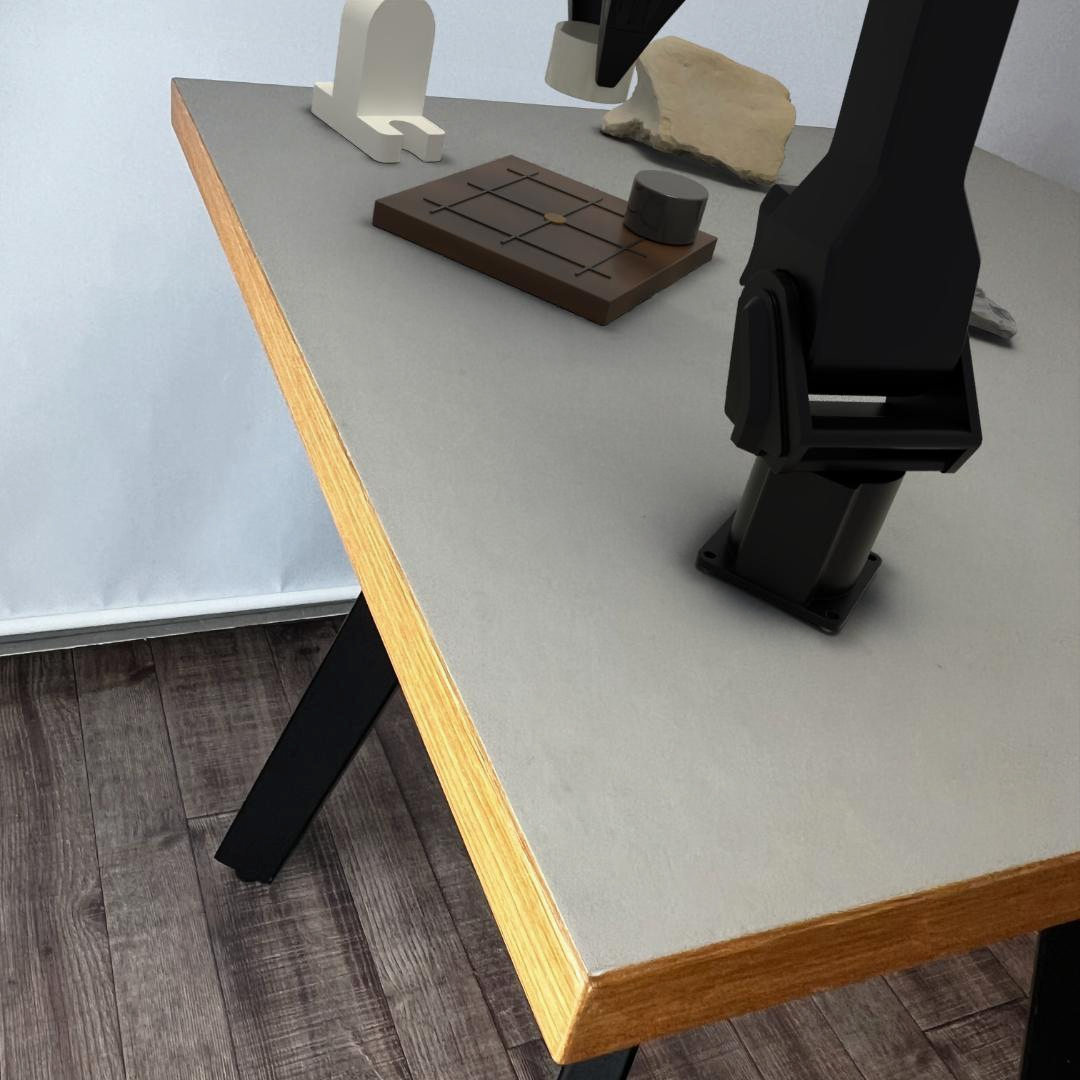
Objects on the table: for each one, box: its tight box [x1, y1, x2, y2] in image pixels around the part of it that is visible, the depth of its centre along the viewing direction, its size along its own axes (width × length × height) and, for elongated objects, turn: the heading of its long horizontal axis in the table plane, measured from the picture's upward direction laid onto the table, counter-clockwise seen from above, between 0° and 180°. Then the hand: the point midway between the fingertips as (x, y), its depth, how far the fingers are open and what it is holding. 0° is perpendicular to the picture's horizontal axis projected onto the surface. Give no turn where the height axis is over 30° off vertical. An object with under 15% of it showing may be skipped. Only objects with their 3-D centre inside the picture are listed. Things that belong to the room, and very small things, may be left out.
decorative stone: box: [600, 35, 797, 186], centre depth 97 cm, size 8×14×8 cm, turn 80°
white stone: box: [543, 20, 637, 105], centre depth 69 cm, size 5×5×3 cm
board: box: [371, 154, 719, 326], centre depth 77 cm, size 16×16×2 cm
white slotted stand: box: [310, 0, 446, 164], centre depth 84 cm, size 5×10×10 cm, turn 37°
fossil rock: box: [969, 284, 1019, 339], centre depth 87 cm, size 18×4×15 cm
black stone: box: [623, 169, 710, 245], centre depth 78 cm, size 5×5×3 cm
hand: (590, 71), depth 70 cm, fingers closed on white stone, 5 cm apart
